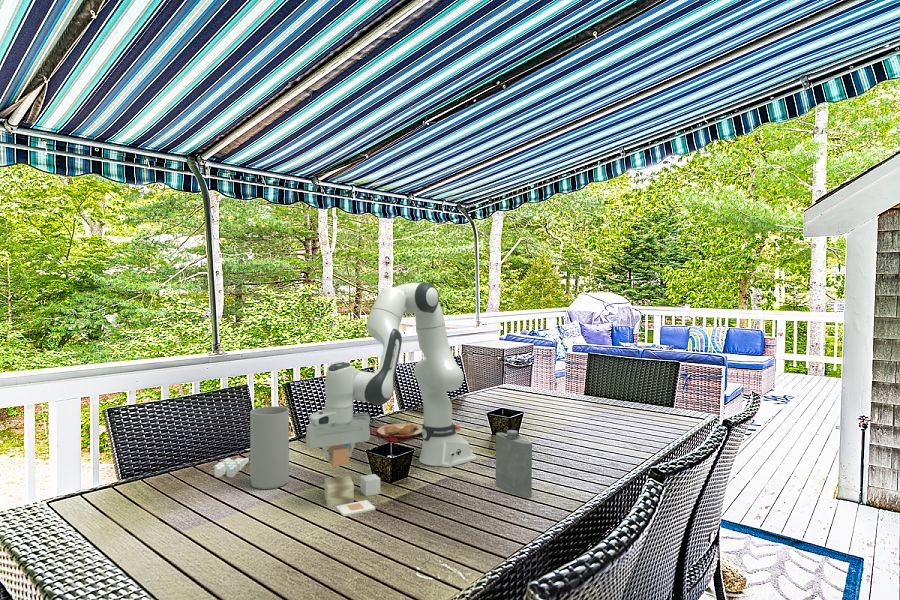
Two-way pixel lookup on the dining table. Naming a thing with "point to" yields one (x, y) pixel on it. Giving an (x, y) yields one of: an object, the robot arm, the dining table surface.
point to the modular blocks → (229, 466)
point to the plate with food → (398, 431)
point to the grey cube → (370, 485)
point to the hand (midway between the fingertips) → (338, 458)
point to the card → (355, 508)
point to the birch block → (339, 490)
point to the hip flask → (514, 464)
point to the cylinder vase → (269, 447)
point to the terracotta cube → (339, 455)
